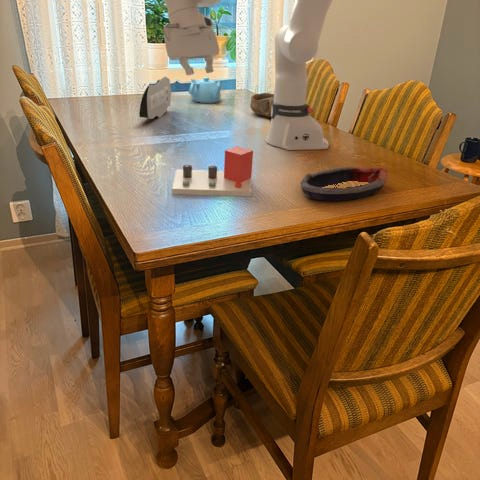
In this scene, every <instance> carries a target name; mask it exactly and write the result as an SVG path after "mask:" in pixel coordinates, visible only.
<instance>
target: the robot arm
mask: <svg viewBox="0 0 480 480" xmlns="http://www.w3.org/2000/svg"><path fill="white" fill-rule="evenodd" d="M221 1H222V0H163V3H164V5H165V6H166V9H167V17H168V21H169V23H165V26H163V34H164V46H165V49H166V54H167V57H168V58H169V59H170V61H178V62H179V64H180V66H181V67H182V69H183V70H184V72H185V76H192V75H194V73H195V71H194V68H193V67H191V65H190V64H189V60H193V59H194V60H195V59H196V60H197V59H204V62H205V63H206V65H205V66H206V67H204V70H205V73H206V74H212V73H213V72H214V71H215V70H214V67H213V64H214V57H216V56H217V55H219V53H220V46H219V42H218V38H217V35H216V33H215V30H214V29H213V27H214V22H213V20H212V18H209V17H208V16H206V15H205V14H203V13H201V12H200V10H199V8H200V9H201V8H211V7H214V6H216V5H218V4H219V3H220V2H221ZM332 2H333V0H294V2H293V3H294V5H293V9H292V13H291V16H290V20H289V23H286V24H285V25H283V26H281V27H280V28H279V29H278V30H277V31H276V33H275V36H274V71H275V72H274V75H275V76H274V77H275V78H274V79H275V81H274V93H273V94H274V101H273V102H272V107H271V117H270V118H271V121H270V127H269V130H268V133H267V137H266V139H265V142H266V143H268V145H271V146H274V147H278V148H280V149H281V148H282V149H283V150H287V151H297V150H298V151H300V150H303V151H304V150H307V151H308V150H309V151H310V150H327V149H329V145H330V144H329V142H328V140H327V139H326V138H324V131H323V127H322V126H321V125H320V123H319V122H317V120H316V119H314V118H313V116H311V114H313V113H314V108H313V107H312V106H310V105H309V104H307V103H306V98H307V92H308V91H307V90H308V82H309V80H308V74H307V72H308V70H307V62H309V61H311V60H312V59H314V57H316V54H317V52H318V48H319V41H320V37H321V34H322V32H323V31H322V30H323V27H324V24H325V19H326V17H327V13H328V12H329V9H330V6H331V5H332Z"/></svg>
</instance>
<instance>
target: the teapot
mask: <svg viewBox="0 0 480 480" xmlns="http://www.w3.org/2000/svg"><path fill="white" fill-rule="evenodd" d="M190 80H191V81H190V86H189V90H188V94H189V95H190V97H191V99H192V100H193V102H196V103H198V102H200V103H199V104H215V102H216V103H218V102H219V101H220V100H221V97H222V95H221V91H222V85H223V80H218V81H217V82H216V81H214V80H211V79H210V77H208V76H207V77H206V76H204V77H202V79H199V80H196V79H195V78H194V79H193V78H192V79H191V78H190Z"/></svg>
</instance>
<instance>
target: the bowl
mask: <svg viewBox="0 0 480 480" xmlns="http://www.w3.org/2000/svg"><path fill="white" fill-rule="evenodd" d="M250 97H251V100H250V103H249V106H250V109H251V111H252V112H253V113H255V114H257V115H258V116H261V117H267V118H268V117H269V118H271V107H272V102H273V101H274V93H269V92H263V93H261V92H260V93H255V94H253V95H252V96H250Z"/></svg>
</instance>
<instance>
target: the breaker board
mask: <svg viewBox="0 0 480 480" xmlns="http://www.w3.org/2000/svg"><path fill="white" fill-rule="evenodd" d="M175 170H176V171H175V174H174V178H173V184H172V187H171V194H172V195H193V196H196V195H197V196H224V197H251V196H253V195H252V194H253V193H252V192H253V191H252V190H253V189H252V185H251V184H252V183H251V178H250V179H248V180H246V181H243V182H241V183H238V182H235V181H232V180H228V179H225V178H224V170H218V167H217V166H216V165H208V169H207V170H204V169H201V170H200V169H193V166H192V165H191V164H184V165H183V166H182V169H181V168H180V169H179V168H178V169H175Z"/></svg>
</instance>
